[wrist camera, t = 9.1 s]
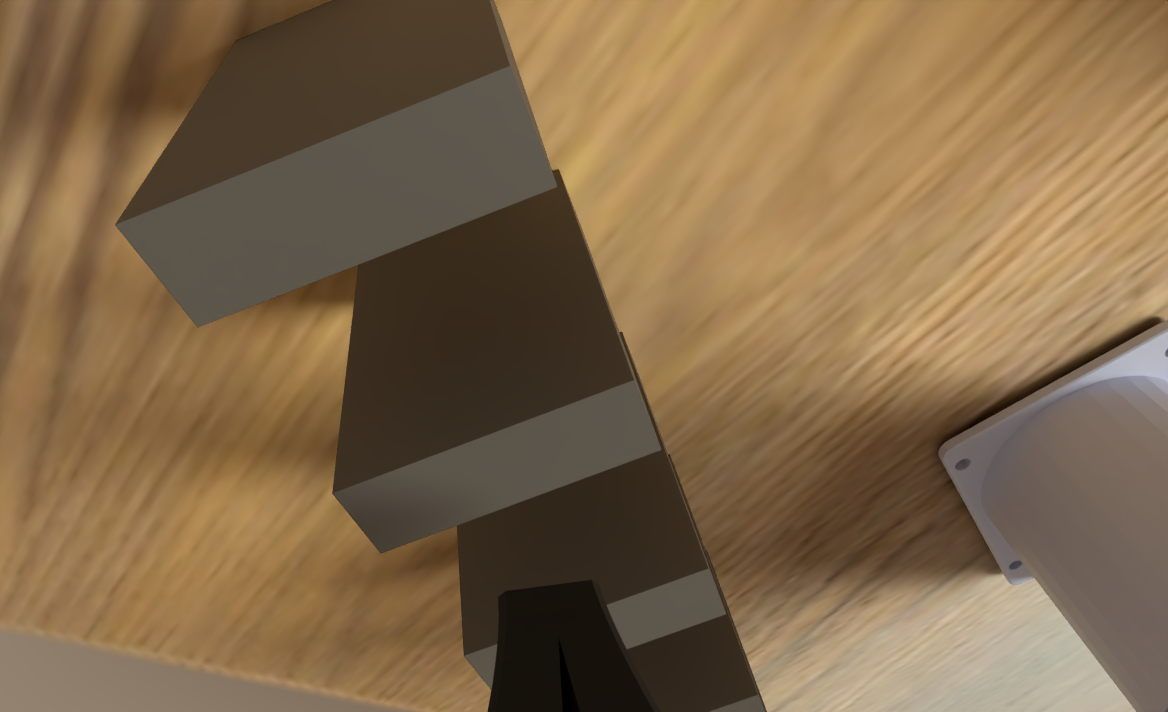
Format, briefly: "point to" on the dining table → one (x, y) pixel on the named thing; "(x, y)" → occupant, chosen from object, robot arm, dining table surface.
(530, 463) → the domino
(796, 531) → the dining table surface
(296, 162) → the end domino
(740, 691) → the domino
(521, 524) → the domino
